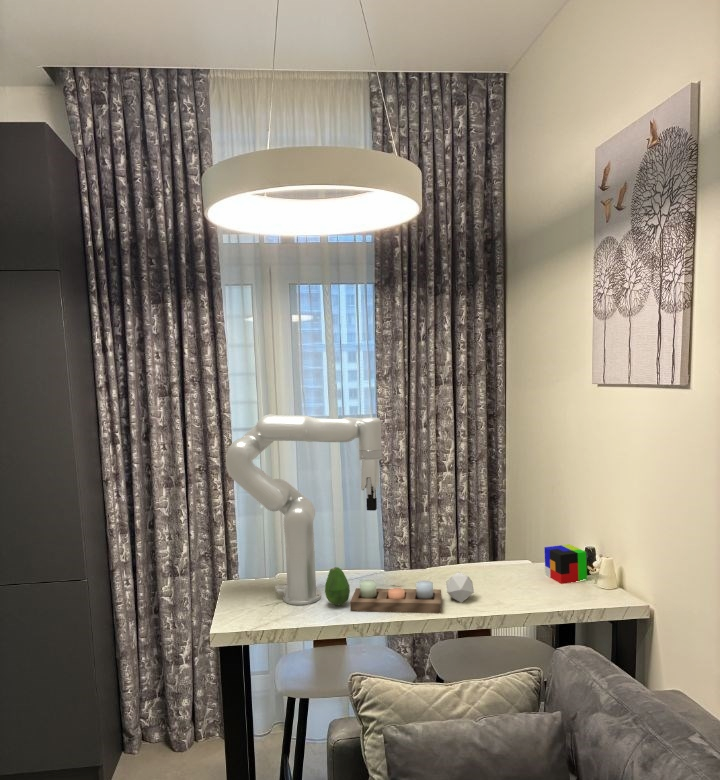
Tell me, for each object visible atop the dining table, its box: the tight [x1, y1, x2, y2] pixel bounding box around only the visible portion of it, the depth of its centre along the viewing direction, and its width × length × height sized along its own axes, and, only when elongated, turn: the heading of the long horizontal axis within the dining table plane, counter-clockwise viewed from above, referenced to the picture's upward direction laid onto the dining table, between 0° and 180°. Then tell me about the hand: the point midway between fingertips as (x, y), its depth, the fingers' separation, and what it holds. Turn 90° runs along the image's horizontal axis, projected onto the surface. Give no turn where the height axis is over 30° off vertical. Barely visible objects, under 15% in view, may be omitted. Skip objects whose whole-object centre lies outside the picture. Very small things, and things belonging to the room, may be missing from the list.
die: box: [445, 571, 475, 603], centre depth 191 cm, size 8×9×10 cm
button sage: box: [359, 579, 377, 598], centre depth 189 cm, size 5×5×4 cm
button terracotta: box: [388, 587, 405, 599], centre depth 188 cm, size 5×5×4 cm
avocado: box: [324, 566, 351, 606], centre depth 190 cm, size 8×8×12 cm
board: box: [349, 587, 442, 614], centre depth 188 cm, size 28×12×3 cm, turn 82°
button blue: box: [415, 580, 434, 599], centre depth 187 cm, size 5×5×4 cm
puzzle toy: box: [543, 544, 588, 585], centre depth 207 cm, size 10×10×10 cm
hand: (371, 509), depth 196 cm, fingers closed
